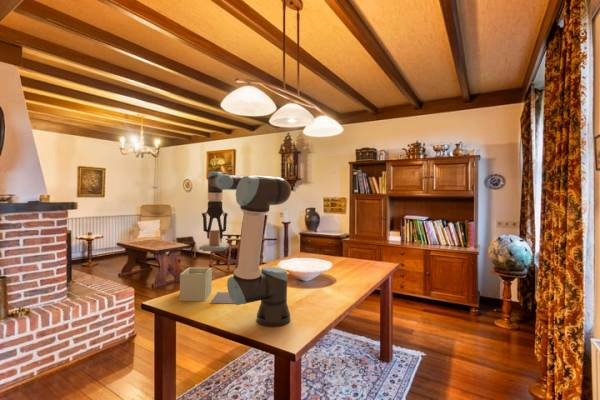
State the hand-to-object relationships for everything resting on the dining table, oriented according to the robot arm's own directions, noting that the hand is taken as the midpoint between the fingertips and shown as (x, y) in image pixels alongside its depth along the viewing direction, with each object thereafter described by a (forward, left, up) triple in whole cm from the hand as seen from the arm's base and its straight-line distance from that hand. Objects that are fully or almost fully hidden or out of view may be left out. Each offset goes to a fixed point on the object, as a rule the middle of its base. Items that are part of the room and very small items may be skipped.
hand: (214, 244), depth 158 cm
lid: (0, 0, -2) cm, 2 cm away
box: (+2, +10, -29) cm, 30 cm away
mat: (0, -8, -29) cm, 30 cm away
